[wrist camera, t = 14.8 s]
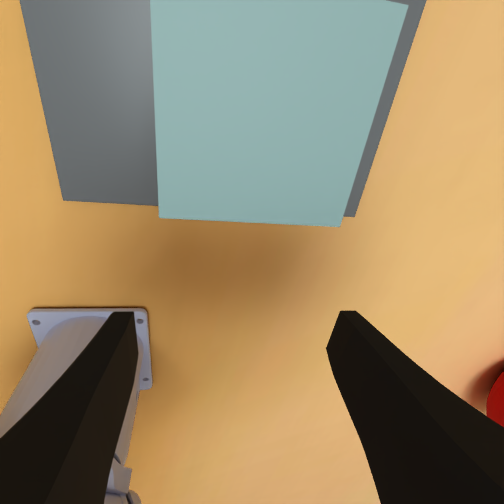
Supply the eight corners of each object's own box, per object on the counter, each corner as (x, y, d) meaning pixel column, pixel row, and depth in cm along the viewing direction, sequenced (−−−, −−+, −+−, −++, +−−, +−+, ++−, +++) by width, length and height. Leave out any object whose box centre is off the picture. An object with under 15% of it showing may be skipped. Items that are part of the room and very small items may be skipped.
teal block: (294, 173, 13) (339, 226, 9) (174, 163, 12) (159, 218, 8) (323, 29, 10) (408, 5, 6) (172, 1, 9) (148, -49, 5)
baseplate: (350, 213, 21) (354, 217, 20) (67, 196, 17) (63, 200, 17) (432, -40, 14) (440, -43, 14) (-5, -146, 11) (-15, -156, 10)
